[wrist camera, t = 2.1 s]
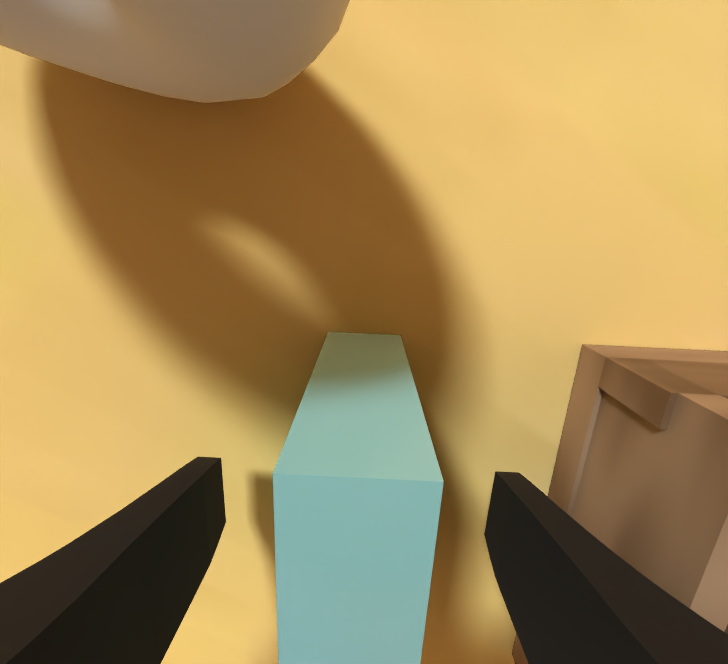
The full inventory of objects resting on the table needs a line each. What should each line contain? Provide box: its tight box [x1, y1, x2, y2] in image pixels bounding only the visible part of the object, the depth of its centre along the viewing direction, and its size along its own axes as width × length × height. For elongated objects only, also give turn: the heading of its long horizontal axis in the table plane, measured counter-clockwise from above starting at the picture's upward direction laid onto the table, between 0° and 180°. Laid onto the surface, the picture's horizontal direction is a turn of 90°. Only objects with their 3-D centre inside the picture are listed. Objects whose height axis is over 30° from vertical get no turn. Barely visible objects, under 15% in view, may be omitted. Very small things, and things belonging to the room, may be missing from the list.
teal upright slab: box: [273, 332, 444, 664], centre depth 8 cm, size 8×2×6 cm, turn 177°
